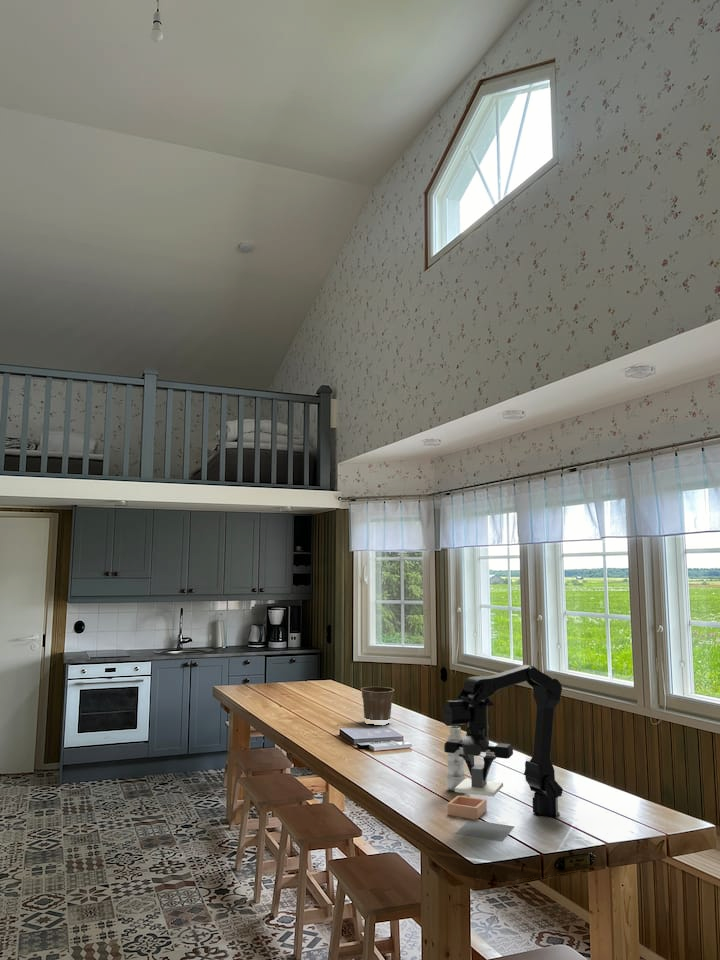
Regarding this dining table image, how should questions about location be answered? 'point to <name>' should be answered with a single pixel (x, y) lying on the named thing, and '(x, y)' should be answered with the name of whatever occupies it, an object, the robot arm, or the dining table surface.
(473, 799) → the orange open box
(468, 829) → the mat
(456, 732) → the plastic bottle
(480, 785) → the lid
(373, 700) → the plant pot
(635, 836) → the dining table surface
